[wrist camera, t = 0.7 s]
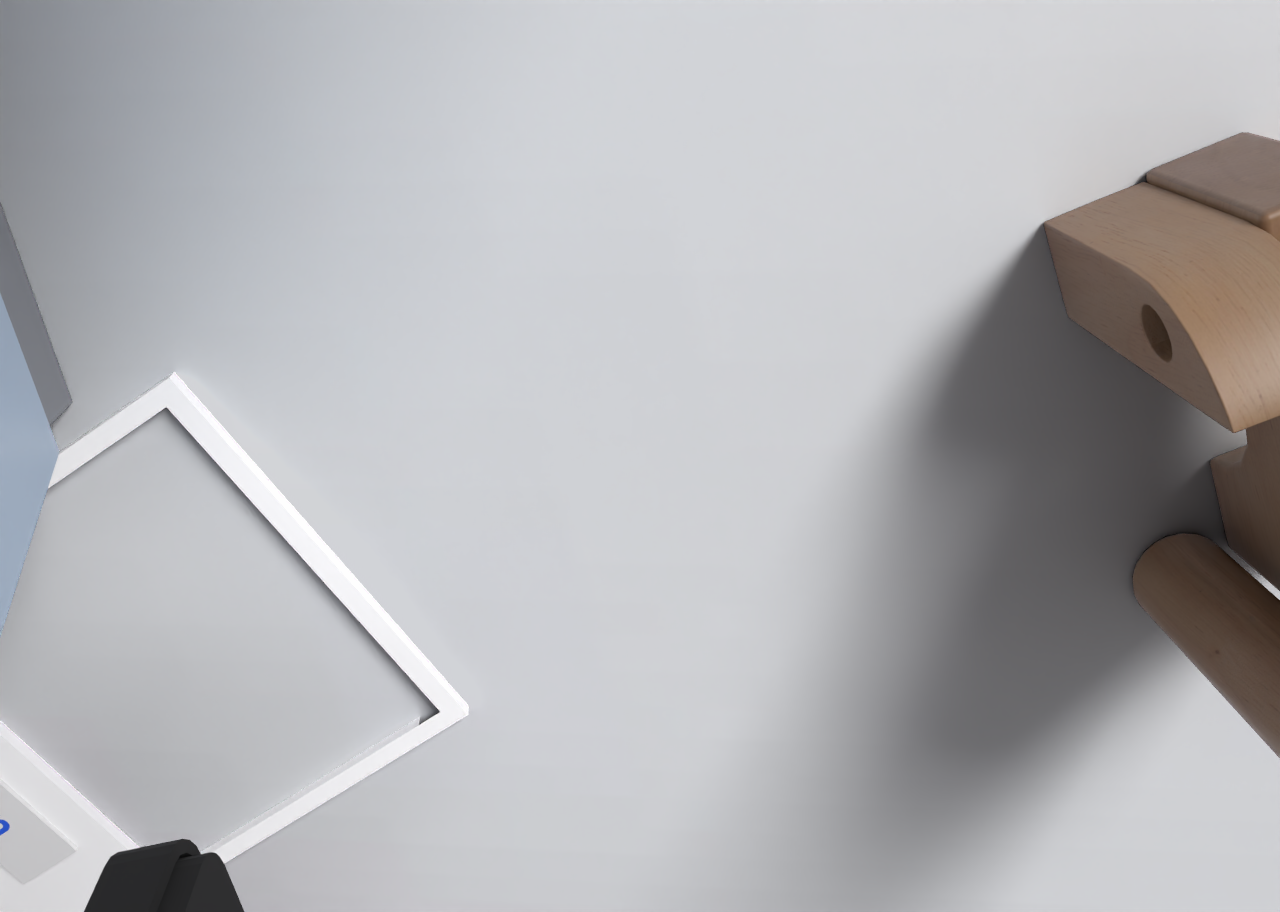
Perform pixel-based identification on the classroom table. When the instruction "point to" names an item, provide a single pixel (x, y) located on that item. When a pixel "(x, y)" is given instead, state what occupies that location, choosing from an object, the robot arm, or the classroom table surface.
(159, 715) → the classroom table surface
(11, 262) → the cable duct
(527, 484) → the classroom table surface
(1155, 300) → the wooden toy
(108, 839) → the photo frame
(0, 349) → the duct cover
